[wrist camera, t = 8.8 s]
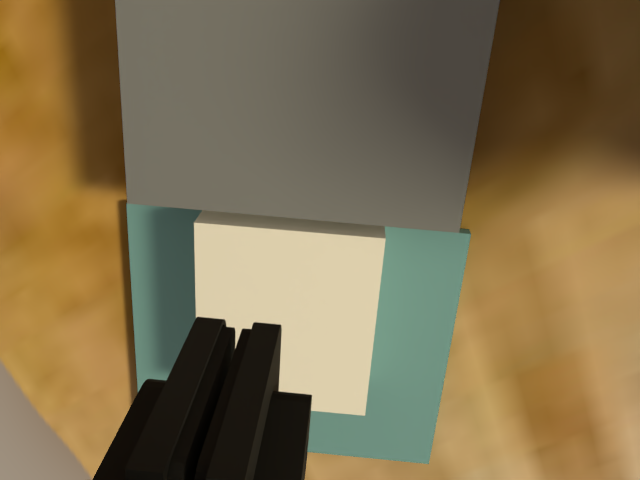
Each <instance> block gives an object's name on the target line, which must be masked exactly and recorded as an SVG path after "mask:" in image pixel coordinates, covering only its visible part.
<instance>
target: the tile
mask: <svg viewBox="0 0 640 480" xmlns="http://www.w3.org/2000/svg"><path fill="white" fill-rule="evenodd" d="M385 241H386V236H385V226H375V225H364V224H353V223H341V222H330V221H319V220H307V219H296V218H285V217H273V216H262V215H251V214H240V213H228V212H217V211H206V210H202V212H201V213H200V214H199V216H198V217H197V219H196V220H195V222H194V252H195V300H196V318H197V317H206V318H216V319H225V321H226V327H234V328H235V348H236V345H237V342H238V339H239V336H240V333H241V331H242V329H243V328H245V329H252V325H253V323H254V322H259V323H269V324H280V325H281V327H282V332H281V353H280V374H279V392H289V393H299V394H310V395H312V404H311V411H319V412H330V413H341V414H352V415H362V416H365V412H366V403H367V395H368V386H369V378H370V369H371V360H372V352H373V343H374V335H375V326H376V318H377V309H378V301H379V292H380V283H381V275H382V266H383V258H384V249H385Z"/></svg>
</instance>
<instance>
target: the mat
mask: <svg viewBox="0 0 640 480" xmlns="http://www.w3.org/2000/svg"><path fill="white" fill-rule="evenodd" d="M126 208H127V224H128V240H129V257H130V273H131V289H132V306H133V322H134V338H135V354H136V371H137V387H138V392H139V390H140V388H141V386H142V385H143V383H144V382H145V380H147V379H157V380H167V378H168V376H169V374H170V372H171V370H172V368H173V366H174V363H175V361H176V359H177V357H178V355H179V353H180V351H181V349H182V346H183V344H184V342H185V340H186V338H187V336H188V334H189V332H190V329H191V327H192V325H193V323H194V321H195V319H196V300H195V252H194V222H195V220H196V219H197V217H198V216H199V214H200V213H201V212H202V210H194V209H183V208H172V207H161V206H149V205H138V204H127V203H126ZM385 236H386V241H385V249H384V258H383V266H382V275H381V283H380V292H379V301H378V309H377V318H376V326H375V335H374V343H373V352H372V360H371V369H370V378H369V386H368V395H367V403H366V412H365V416H362V415H352V414H341V413H330V412H319V411H311V417H310V429H309V440H308V451H307V452H314V453H324V454H334V455H344V456H354V457H364V458H374V459H384V460H394V461H404V462H414V463H424V464H429V460H430V454H431V449H432V443H433V438H434V432H435V427H436V422H437V416H438V411H439V405H440V400H441V394H442V389H443V384H444V378H445V373H446V367H447V362H448V356H449V351H450V345H451V340H452V335H453V329H454V324H455V318H456V313H457V307H458V302H459V297H460V291H461V286H462V280H463V275H464V269H465V264H466V259H467V253H468V248H469V242H470V237H471V233H470V231H469V229H460V231H459V233H454V232H443V231H432V230H420V229H409V228H398V227H386V226H385Z"/></svg>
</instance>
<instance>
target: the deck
mask: <svg viewBox="0 0 640 480" xmlns="http://www.w3.org/2000/svg"><path fill="white" fill-rule="evenodd" d="M499 3H500V0H115V8H116V25H117V41H118V58H119V74H120V91H121V107H122V124H123V140H124V157H125V173H126V190H127V204H138V205H149V206H161V207H172V208H183V209H194V210H206V211H217V212H228V213H240V214H251V215H262V216H273V217H285V218H296V219H307V220H319V221H330V222H341V223H353V224H364V225H375V226H386V227H398V228H409V229H420V230H432V231H443V232H454V233H459V231H460V225H461V220H462V214H463V208H464V202H465V197H466V191H467V185H468V180H469V174H470V168H471V162H472V157H473V151H474V145H475V140H476V134H477V128H478V123H479V117H480V111H481V105H482V100H483V94H484V88H485V83H486V77H487V71H488V66H489V60H490V54H491V48H492V43H493V37H494V31H495V26H496V20H497V14H498V9H499Z"/></svg>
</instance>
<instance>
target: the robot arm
mask: <svg viewBox="0 0 640 480" xmlns="http://www.w3.org/2000/svg"><path fill="white" fill-rule="evenodd" d="M281 332H282V327H281V325H280V324H269V323H259V322H254V323H253V325H252V329H245V328H243V329H242V331H241V333H240V336H239V339H238V342H237V345H236V348H235V328H234V327H226V321H225V319H216V318H206V317H197V318H196V319H195V321H194V323H193V325H192V327H191V329H190V332H189V334H188V336H187V338H186V340H185V342H184V344H183V346H182V349H181V351H180V353H179V355H178V357H177V359H176V361H175V363H174V366H173V368H172V370H171V372H170V374H169V376H168V378H167V380H157V379H147V380H145V382H144V383H143V385H142V386H141V388H140V390H139V392H138V394H137V396H136V398H135V400H134V401H133V403H132V405H131V407H130V409H129V411H128V413H127V415H126V417H125V419H124V421H123V423H122V424H121V426H120V428H119V430H118V432H117V434H116V436H115V438H114V440H113V442H112V444H111V445H110V447H109V449H108V451H107V453H106V455H105V457H104V459H103V461H102V463H101V465H100V466H99V468H98V470H97V472H96V474H95V476H94V478H93V480H304V479H305V470H306V461H307V451H308V440H309V429H310V417H311V404H312V395H310V394H299V393H289V392H279V374H280V353H281Z"/></svg>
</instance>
